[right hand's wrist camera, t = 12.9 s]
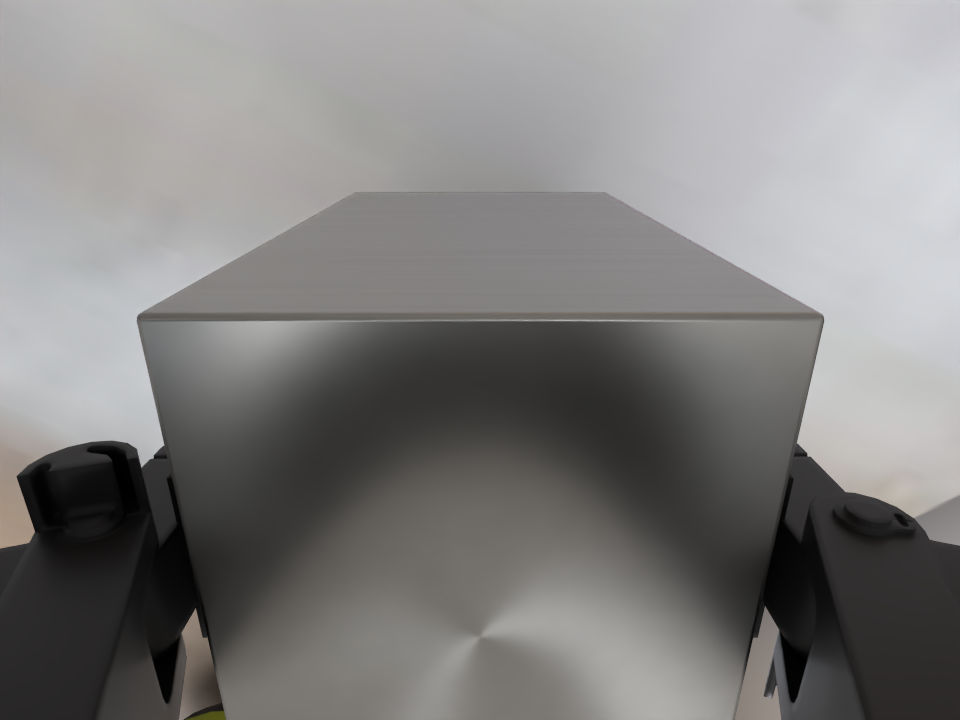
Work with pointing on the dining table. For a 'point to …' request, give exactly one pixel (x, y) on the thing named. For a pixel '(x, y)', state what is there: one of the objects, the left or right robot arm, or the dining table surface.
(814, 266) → the dining table surface
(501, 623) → the block
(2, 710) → the right robot arm
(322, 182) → the dining table surface
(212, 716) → the grenade
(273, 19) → the dining table surface
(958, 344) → the dining table surface
